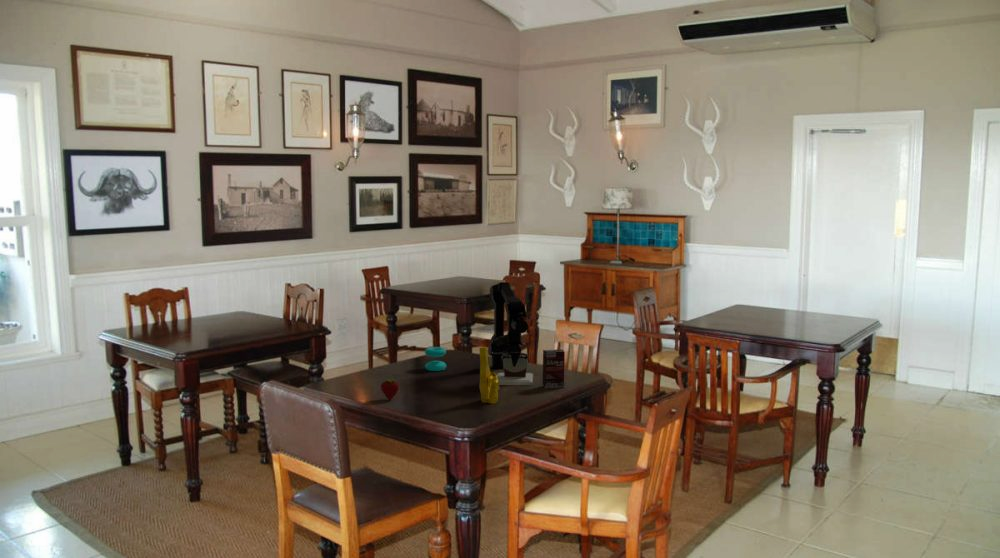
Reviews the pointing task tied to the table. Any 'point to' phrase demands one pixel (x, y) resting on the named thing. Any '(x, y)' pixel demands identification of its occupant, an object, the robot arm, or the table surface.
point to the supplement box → (553, 368)
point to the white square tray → (515, 380)
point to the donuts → (435, 353)
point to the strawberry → (390, 388)
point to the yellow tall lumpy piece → (487, 379)
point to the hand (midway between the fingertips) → (514, 364)
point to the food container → (518, 369)
